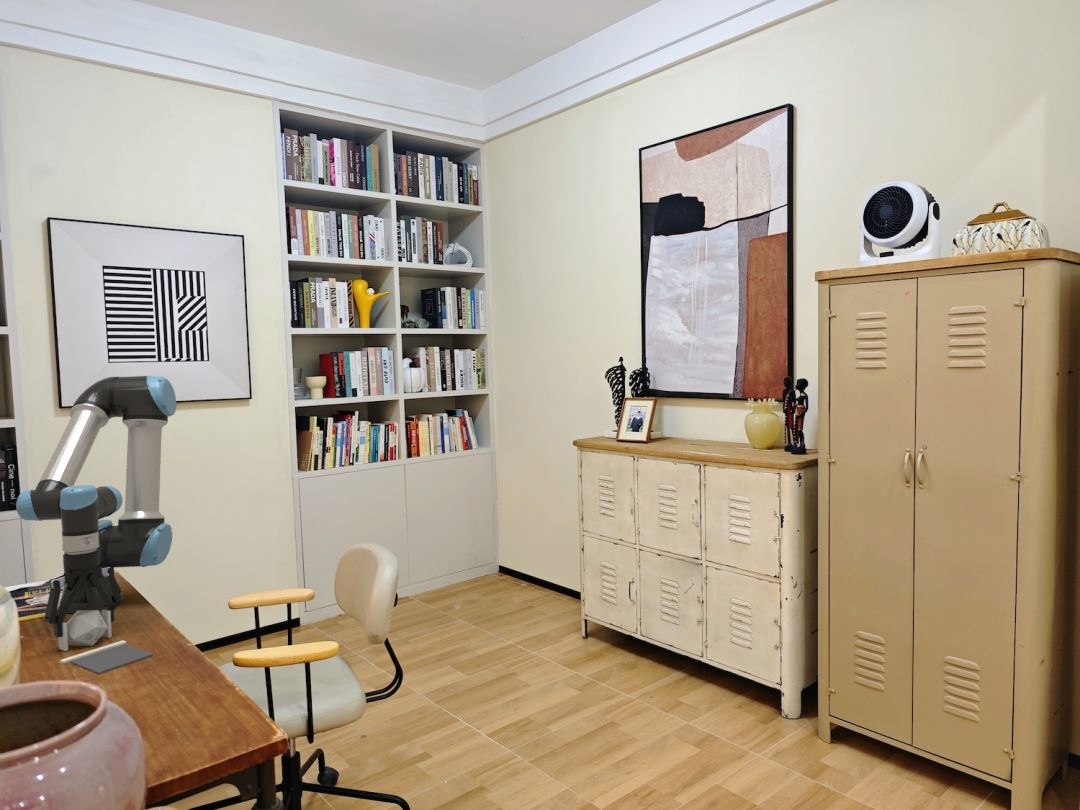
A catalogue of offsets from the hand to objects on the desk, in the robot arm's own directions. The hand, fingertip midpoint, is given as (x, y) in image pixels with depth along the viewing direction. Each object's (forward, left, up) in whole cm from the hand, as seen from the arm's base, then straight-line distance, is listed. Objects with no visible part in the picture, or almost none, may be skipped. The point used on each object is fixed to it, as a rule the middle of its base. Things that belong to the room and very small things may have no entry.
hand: (85, 642), depth 180 cm
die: (0, 0, 0) cm, 0 cm away
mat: (+2, +15, 0) cm, 15 cm away
